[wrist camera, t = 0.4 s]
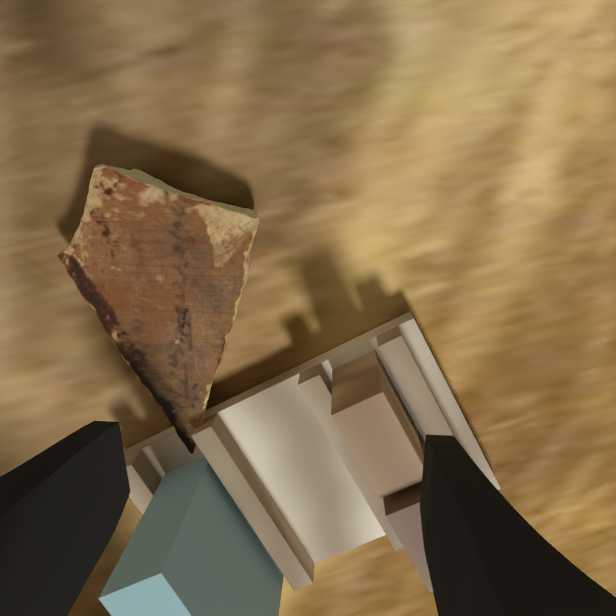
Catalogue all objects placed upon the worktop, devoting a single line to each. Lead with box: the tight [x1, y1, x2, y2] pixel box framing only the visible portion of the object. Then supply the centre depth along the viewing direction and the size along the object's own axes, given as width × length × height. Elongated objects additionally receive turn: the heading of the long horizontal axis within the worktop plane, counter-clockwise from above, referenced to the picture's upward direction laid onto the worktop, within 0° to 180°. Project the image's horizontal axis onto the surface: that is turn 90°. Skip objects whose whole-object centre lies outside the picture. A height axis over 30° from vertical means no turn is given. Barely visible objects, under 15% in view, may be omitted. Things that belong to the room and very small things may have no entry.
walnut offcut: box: [383, 430, 433, 593], centre depth 21 cm, size 2×4×4 cm, turn 29°
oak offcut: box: [331, 350, 424, 499], centre depth 20 cm, size 2×4×4 cm, turn 29°
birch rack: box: [124, 311, 501, 591], centre depth 23 cm, size 15×9×2 cm, turn 119°
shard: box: [57, 164, 259, 454], centre depth 22 cm, size 11×8×2 cm
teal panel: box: [98, 456, 284, 616], centre depth 21 cm, size 2×7×7 cm, turn 27°
